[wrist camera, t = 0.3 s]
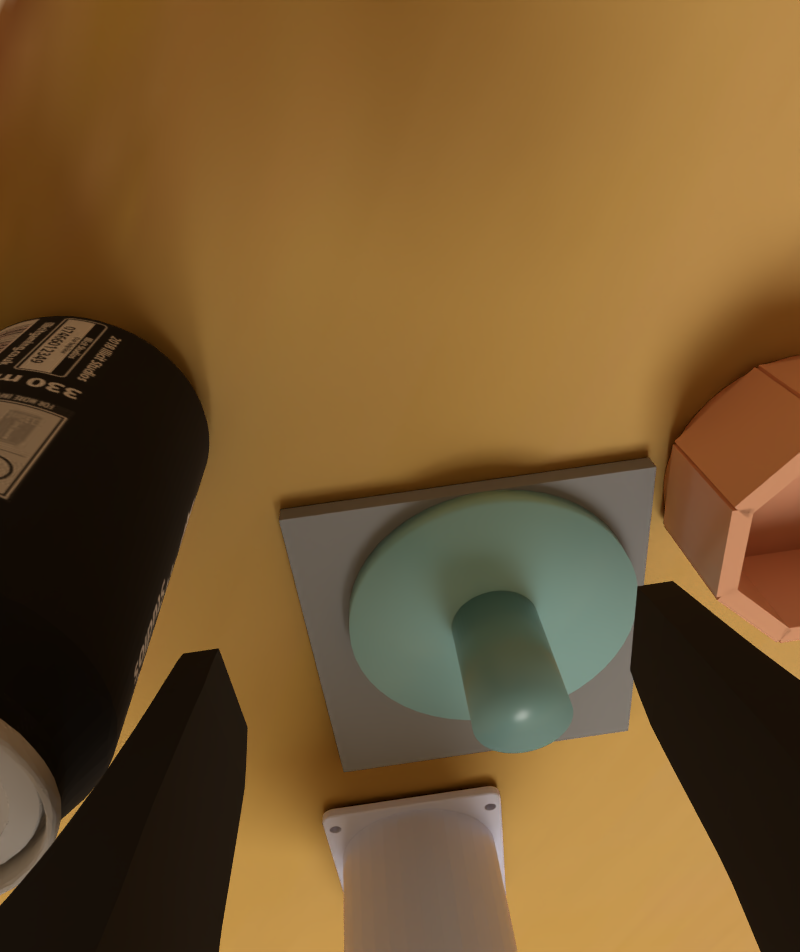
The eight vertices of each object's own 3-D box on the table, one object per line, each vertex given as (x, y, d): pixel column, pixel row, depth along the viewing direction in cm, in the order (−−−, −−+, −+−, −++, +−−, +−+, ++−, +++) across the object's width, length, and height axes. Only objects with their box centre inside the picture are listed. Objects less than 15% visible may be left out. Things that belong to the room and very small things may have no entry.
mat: (622, 718, 28) (628, 730, 28) (343, 759, 28) (343, 772, 28) (648, 457, 22) (656, 466, 21) (280, 509, 21) (278, 520, 21)
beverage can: (146, 544, 22) (-18, 968, 12) (-65, 440, 19) (-514, 863, 9) (256, 396, 19) (171, 763, 9) (31, 254, 17) (-432, 543, 7)
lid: (620, 683, 26) (672, 796, 22) (369, 719, 26) (376, 839, 22) (640, 468, 21) (714, 565, 17) (326, 513, 21) (324, 621, 17)
